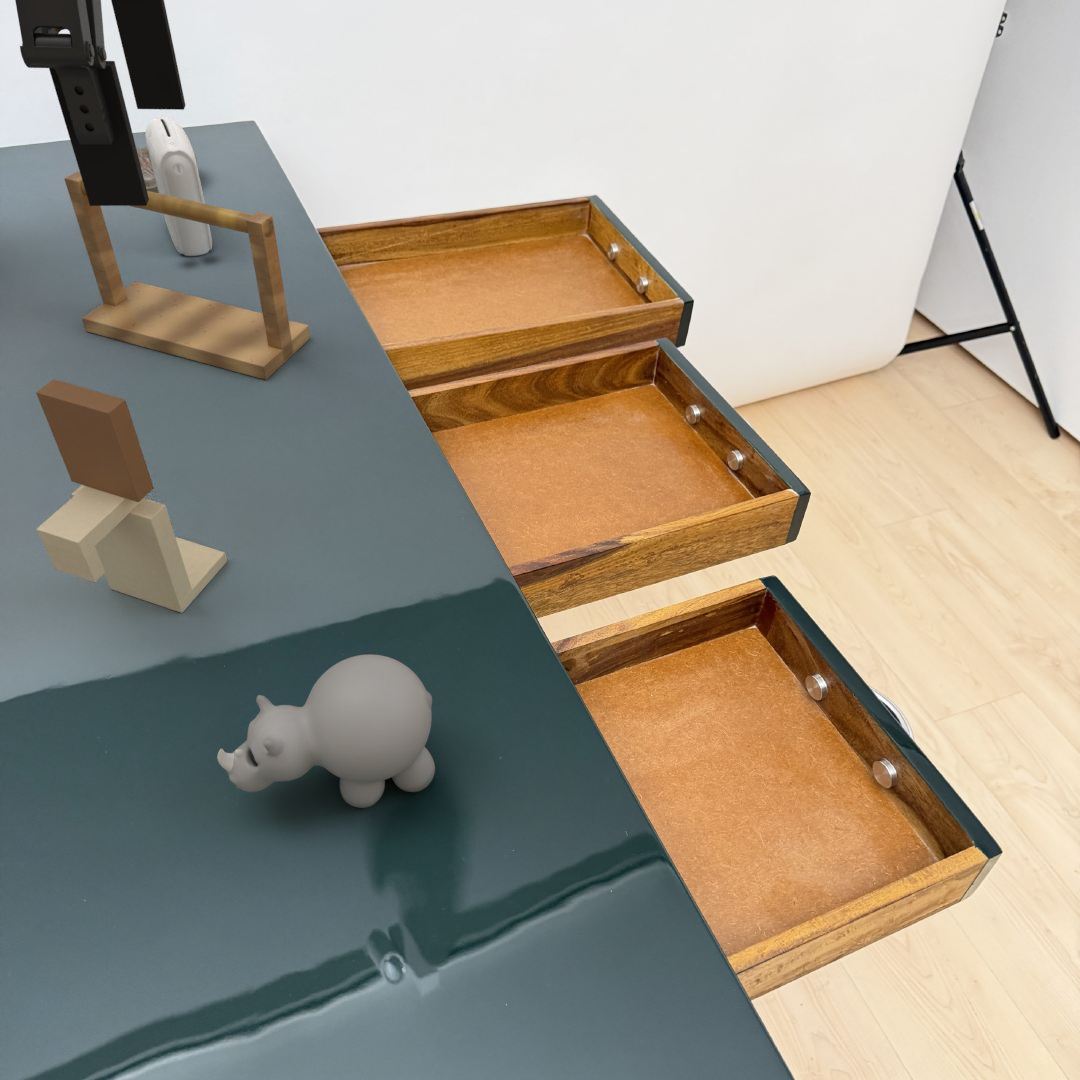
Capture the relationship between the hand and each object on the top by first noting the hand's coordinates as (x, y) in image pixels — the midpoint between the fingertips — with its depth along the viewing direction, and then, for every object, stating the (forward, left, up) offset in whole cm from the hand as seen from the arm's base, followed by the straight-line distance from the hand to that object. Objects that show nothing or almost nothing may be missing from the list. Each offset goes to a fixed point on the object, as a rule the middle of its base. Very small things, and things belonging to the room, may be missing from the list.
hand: (142, 151), depth 50 cm
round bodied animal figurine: (+18, -17, -28) cm, 38 cm away
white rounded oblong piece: (-31, +38, -28) cm, 56 cm away
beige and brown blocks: (-1, -9, -28) cm, 29 cm away
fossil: (-43, +48, -28) cm, 70 cm away
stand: (-18, +21, -28) cm, 39 cm away
